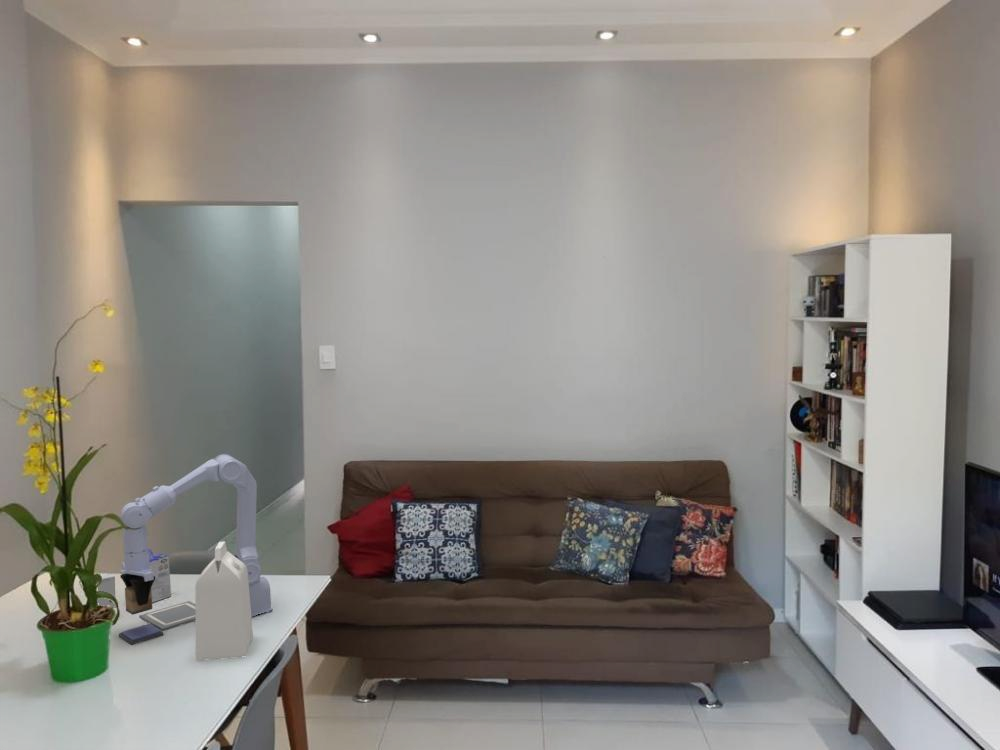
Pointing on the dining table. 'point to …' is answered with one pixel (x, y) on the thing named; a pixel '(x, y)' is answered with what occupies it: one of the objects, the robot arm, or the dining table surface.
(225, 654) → the milk
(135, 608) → the stamp
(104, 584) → the skincare box
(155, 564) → the ink cartridge box
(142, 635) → the ink pad
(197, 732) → the dining table surface
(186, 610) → the mat
